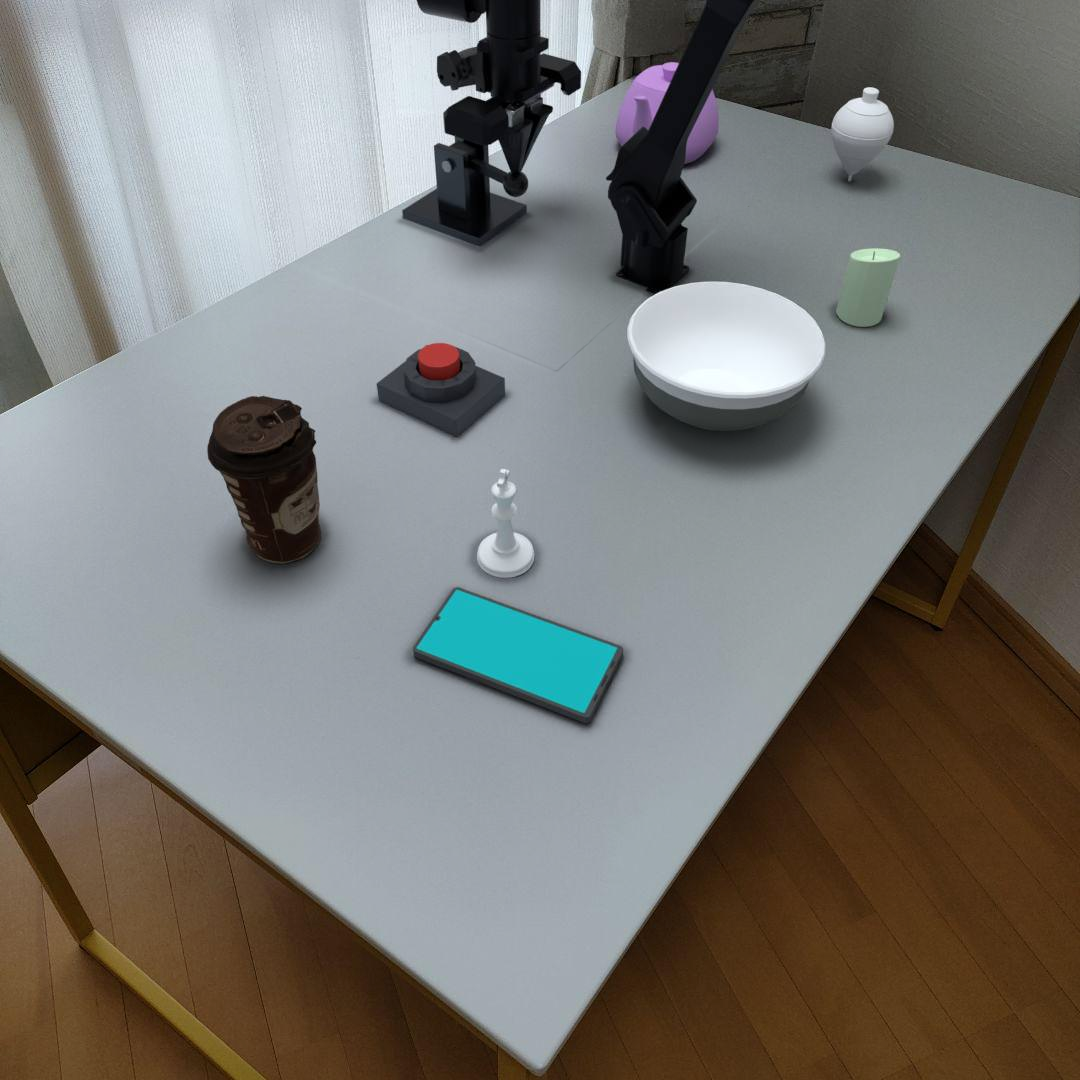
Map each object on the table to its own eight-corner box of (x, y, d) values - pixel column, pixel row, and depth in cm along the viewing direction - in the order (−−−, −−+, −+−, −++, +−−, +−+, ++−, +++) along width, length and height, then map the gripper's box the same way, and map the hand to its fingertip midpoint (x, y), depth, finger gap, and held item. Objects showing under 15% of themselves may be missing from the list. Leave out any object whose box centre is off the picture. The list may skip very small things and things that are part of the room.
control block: (505, 395, 101) (504, 363, 98) (457, 437, 96) (454, 405, 93) (428, 361, 105) (425, 329, 102) (378, 400, 100) (373, 368, 97)
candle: (827, 306, 112) (843, 240, 106) (866, 299, 113) (884, 233, 107) (850, 331, 109) (868, 264, 103) (890, 323, 110) (910, 256, 104)
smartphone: (588, 718, 73) (411, 649, 77) (588, 725, 74) (412, 656, 78) (625, 646, 78) (455, 585, 82) (624, 652, 78) (456, 591, 83)
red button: (468, 366, 98) (467, 351, 97) (443, 386, 96) (441, 372, 95) (436, 352, 100) (435, 337, 98) (411, 372, 97) (409, 357, 96)
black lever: (532, 195, 119) (534, 172, 116) (517, 205, 117) (519, 182, 115) (459, 159, 122) (460, 136, 119) (444, 168, 120) (445, 145, 118)
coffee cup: (347, 508, 89) (325, 393, 80) (325, 577, 84) (298, 462, 74) (253, 501, 90) (220, 386, 81) (224, 569, 84) (184, 454, 75)
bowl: (830, 460, 94) (851, 391, 88) (634, 469, 93) (641, 399, 87) (783, 344, 107) (798, 277, 101) (611, 350, 106) (615, 283, 100)
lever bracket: (527, 215, 126) (526, 139, 119) (479, 249, 120) (476, 172, 113) (452, 189, 130) (447, 115, 123) (402, 221, 125) (394, 145, 118)
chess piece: (542, 543, 87) (543, 458, 79) (523, 584, 83) (522, 498, 76) (489, 530, 88) (485, 444, 80) (468, 569, 84) (462, 484, 77)
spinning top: (834, 162, 136) (855, 72, 127) (887, 178, 133) (912, 86, 124) (810, 184, 132) (829, 92, 123) (864, 200, 129) (888, 107, 120)
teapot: (586, 166, 135) (589, 83, 127) (651, 112, 147) (658, 32, 139) (676, 190, 130) (685, 105, 122) (735, 132, 142) (747, 51, 134)
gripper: (503, -11, 113) (506, 125, 124) (397, 41, 103) (411, 184, 114) (585, 9, 109) (581, 148, 120) (484, 65, 98) (489, 211, 109)
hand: (516, 171), depth 116 cm, fingers closed
